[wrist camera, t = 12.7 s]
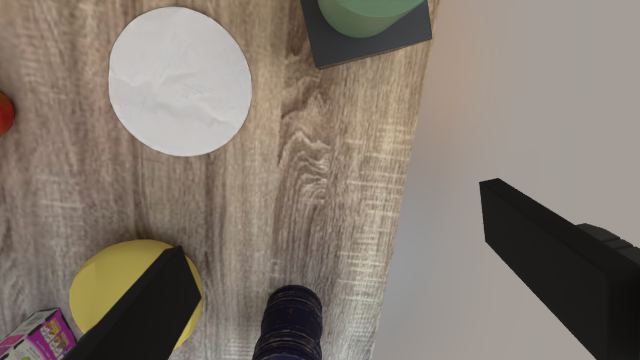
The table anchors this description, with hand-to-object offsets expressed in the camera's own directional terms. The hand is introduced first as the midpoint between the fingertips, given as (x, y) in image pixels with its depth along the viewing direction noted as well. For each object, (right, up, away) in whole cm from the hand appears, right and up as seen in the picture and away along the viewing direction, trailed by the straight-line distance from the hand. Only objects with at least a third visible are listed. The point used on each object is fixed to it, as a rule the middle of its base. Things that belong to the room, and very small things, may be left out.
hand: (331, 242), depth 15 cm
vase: (-27, -13, +43) cm, 53 cm away
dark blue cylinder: (-5, -20, +45) cm, 49 cm away
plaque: (-20, +16, +34) cm, 43 cm away
